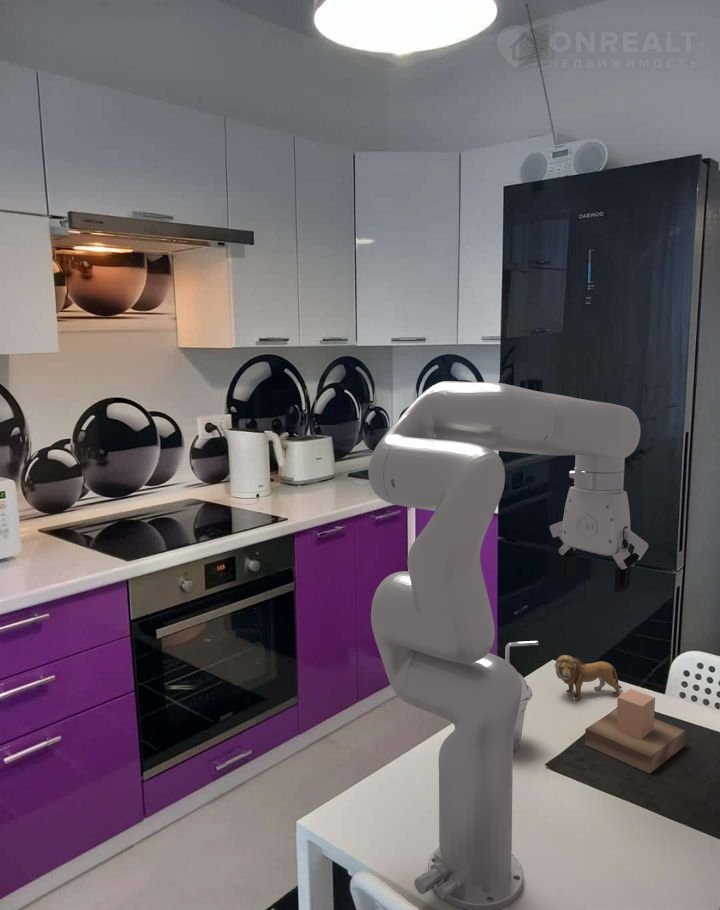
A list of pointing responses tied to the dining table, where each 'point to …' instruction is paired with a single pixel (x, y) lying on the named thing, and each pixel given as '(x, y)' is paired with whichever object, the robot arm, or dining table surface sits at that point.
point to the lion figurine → (585, 674)
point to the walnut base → (635, 742)
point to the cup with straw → (525, 696)
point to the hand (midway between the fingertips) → (594, 583)
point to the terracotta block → (635, 713)
